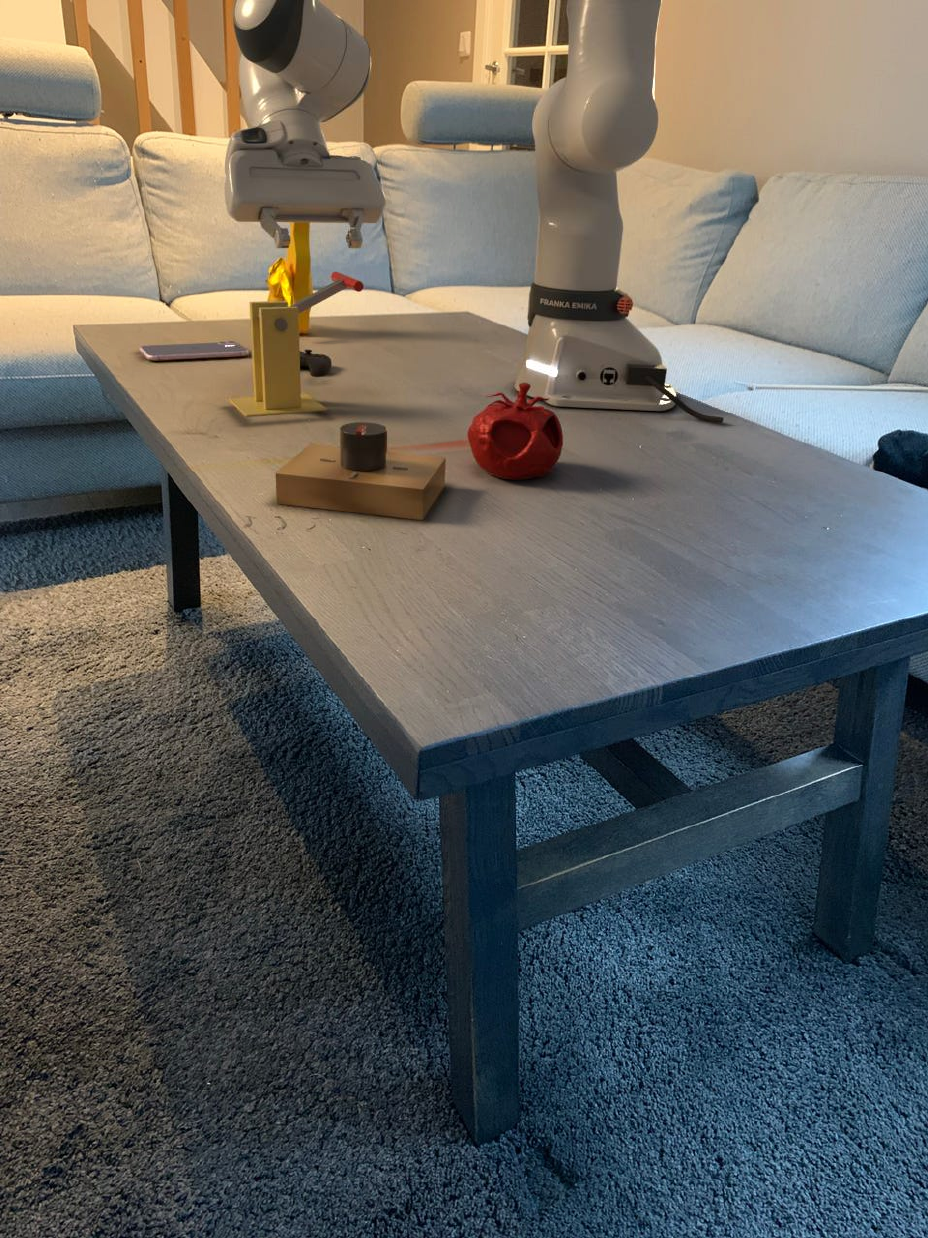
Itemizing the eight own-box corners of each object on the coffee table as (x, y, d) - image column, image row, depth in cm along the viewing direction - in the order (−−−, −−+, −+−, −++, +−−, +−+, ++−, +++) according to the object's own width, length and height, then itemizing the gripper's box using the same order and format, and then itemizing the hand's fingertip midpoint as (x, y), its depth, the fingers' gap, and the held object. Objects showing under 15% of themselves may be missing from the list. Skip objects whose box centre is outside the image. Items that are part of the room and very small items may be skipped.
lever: (343, 283, 119) (335, 264, 117) (367, 293, 113) (359, 274, 111) (259, 329, 117) (249, 310, 115) (278, 342, 110) (269, 322, 109)
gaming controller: (256, 368, 134) (271, 333, 136) (272, 390, 139) (287, 355, 141) (317, 377, 131) (332, 341, 133) (331, 399, 136) (345, 364, 138)
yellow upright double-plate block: (306, 402, 123) (304, 298, 117) (327, 418, 117) (326, 309, 111) (229, 407, 119) (222, 300, 113) (246, 424, 113) (240, 311, 107)
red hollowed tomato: (451, 460, 104) (455, 374, 100) (534, 453, 108) (541, 370, 104) (490, 490, 96) (496, 397, 92) (577, 481, 100) (587, 392, 96)
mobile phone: (137, 344, 144) (237, 339, 150) (138, 350, 145) (237, 346, 151) (147, 354, 138) (250, 349, 144) (148, 361, 139) (250, 356, 145)
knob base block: (444, 485, 97) (445, 455, 95) (422, 520, 88) (423, 487, 87) (311, 471, 99) (310, 441, 97) (276, 503, 90) (275, 471, 89)
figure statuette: (257, 323, 170) (250, 186, 160) (301, 322, 173) (297, 187, 163) (280, 343, 155) (274, 194, 145) (327, 341, 158) (325, 195, 148)
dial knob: (346, 455, 94) (346, 417, 92) (390, 459, 94) (391, 420, 92) (335, 469, 90) (334, 429, 89) (381, 473, 90) (381, 433, 88)
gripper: (363, 175, 130) (390, 261, 127) (212, 170, 122) (237, 262, 119) (376, 139, 125) (404, 228, 122) (218, 131, 116) (244, 226, 113)
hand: (320, 245), depth 120 cm, fingers open, 8 cm apart
